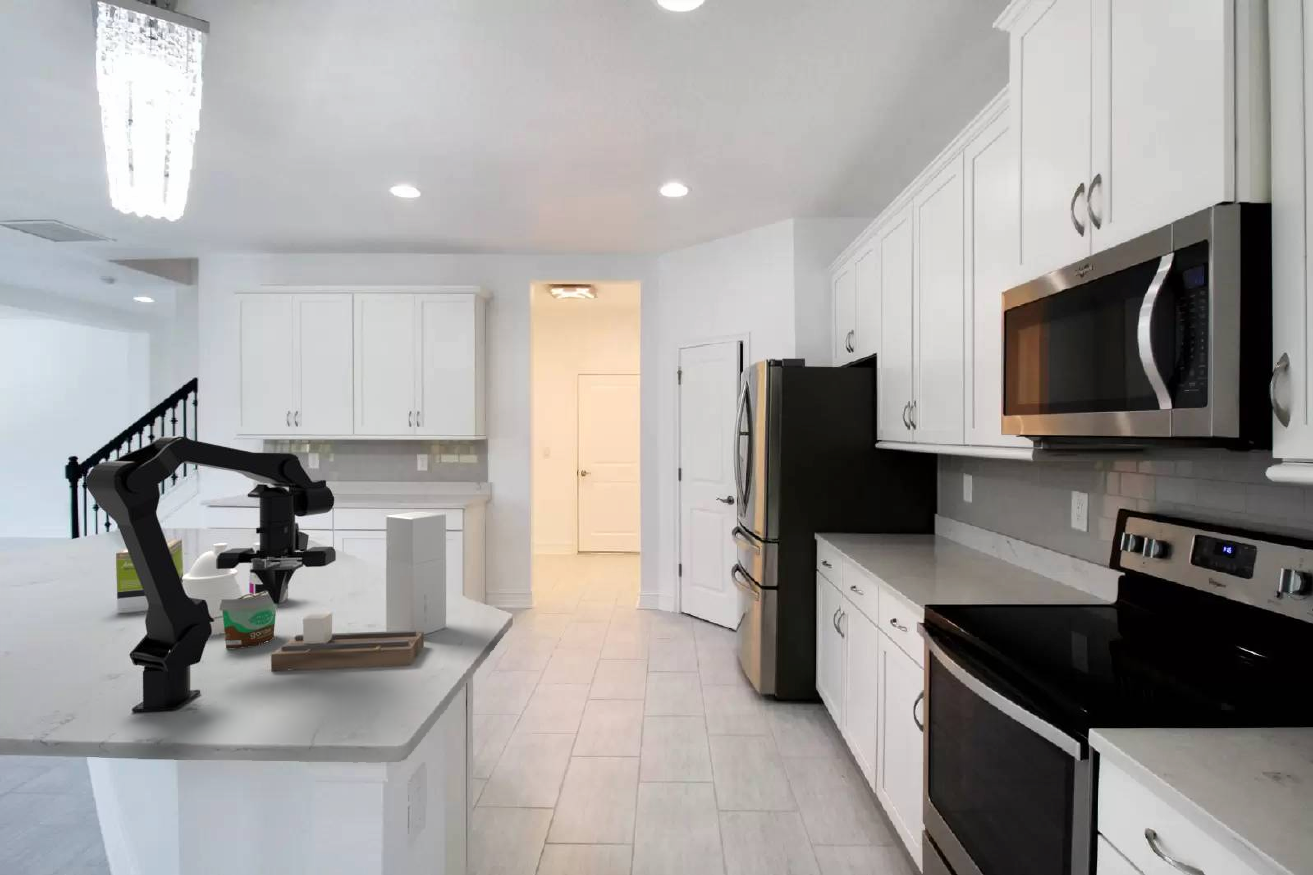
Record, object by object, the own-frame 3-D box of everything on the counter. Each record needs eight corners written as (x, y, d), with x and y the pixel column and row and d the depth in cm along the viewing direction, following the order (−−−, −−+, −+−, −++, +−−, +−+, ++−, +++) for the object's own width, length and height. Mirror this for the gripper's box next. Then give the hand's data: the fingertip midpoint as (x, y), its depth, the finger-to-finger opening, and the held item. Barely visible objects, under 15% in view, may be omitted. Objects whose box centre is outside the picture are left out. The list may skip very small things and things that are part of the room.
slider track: (410, 665, 116) (410, 644, 116) (271, 671, 113) (271, 650, 113) (423, 646, 126) (423, 627, 126) (295, 651, 123) (295, 632, 123)
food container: (246, 653, 122) (245, 601, 121) (219, 651, 123) (219, 600, 123) (294, 633, 134) (294, 586, 134) (270, 631, 135) (269, 584, 135)
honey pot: (234, 615, 146) (233, 538, 146) (254, 626, 138) (253, 544, 138) (165, 628, 136) (165, 546, 136) (183, 641, 128) (182, 553, 128)
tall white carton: (412, 639, 130) (412, 518, 130) (385, 632, 135) (385, 515, 134) (446, 627, 138) (446, 513, 137) (420, 621, 142) (419, 511, 142)
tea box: (136, 598, 161) (136, 540, 160) (184, 594, 165) (184, 538, 165) (115, 614, 147) (115, 551, 147) (168, 609, 151) (168, 548, 151)
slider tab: (323, 645, 117) (323, 618, 117) (303, 646, 116) (303, 619, 116) (332, 638, 121) (332, 612, 120) (312, 638, 120) (312, 612, 120)
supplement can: (241, 605, 155) (241, 544, 154) (270, 596, 163) (270, 538, 162) (267, 608, 152) (266, 546, 152) (295, 599, 160) (295, 540, 160)
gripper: (346, 513, 126) (346, 591, 127) (246, 514, 124) (246, 593, 124) (324, 521, 115) (324, 606, 115) (214, 523, 113) (214, 609, 113)
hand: (277, 603), depth 117 cm, fingers closed
